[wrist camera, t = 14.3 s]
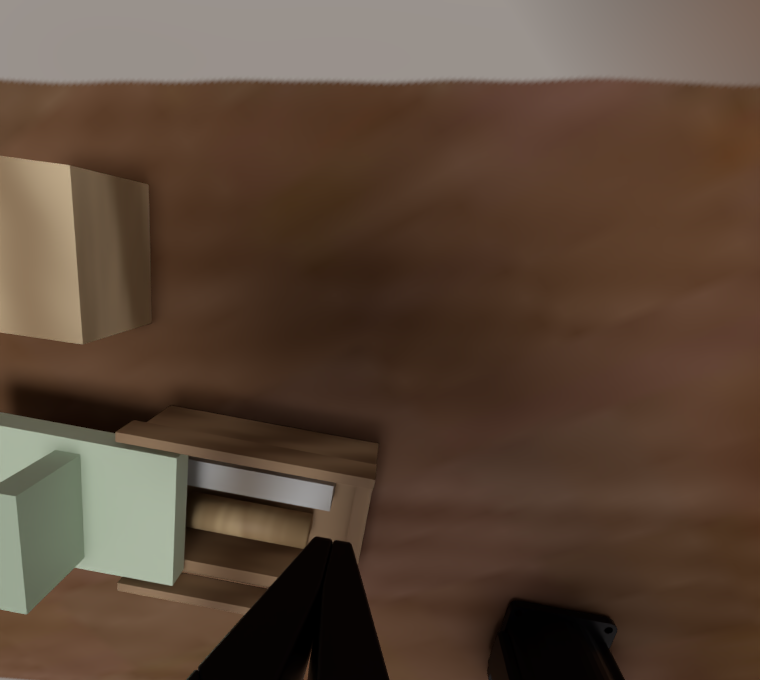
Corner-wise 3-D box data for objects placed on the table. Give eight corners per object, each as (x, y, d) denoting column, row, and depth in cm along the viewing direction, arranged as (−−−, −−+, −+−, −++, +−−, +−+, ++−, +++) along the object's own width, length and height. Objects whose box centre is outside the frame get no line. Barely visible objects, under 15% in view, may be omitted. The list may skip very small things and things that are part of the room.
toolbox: (380, 433, 21) (375, 480, 17) (355, 565, 23) (345, 633, 19) (170, 395, 21) (115, 432, 17) (167, 530, 23) (117, 590, 19)
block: (150, 184, 18) (70, 165, 14) (153, 322, 20) (82, 344, 16) (71, 174, 18) (-34, 151, 14) (81, 312, 20) (-10, 331, 16)
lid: (188, 446, 18) (130, 501, 14) (183, 569, 20) (131, 647, 16) (-58, 401, 18) (-182, 443, 14) (-40, 527, 20) (-145, 594, 16)
